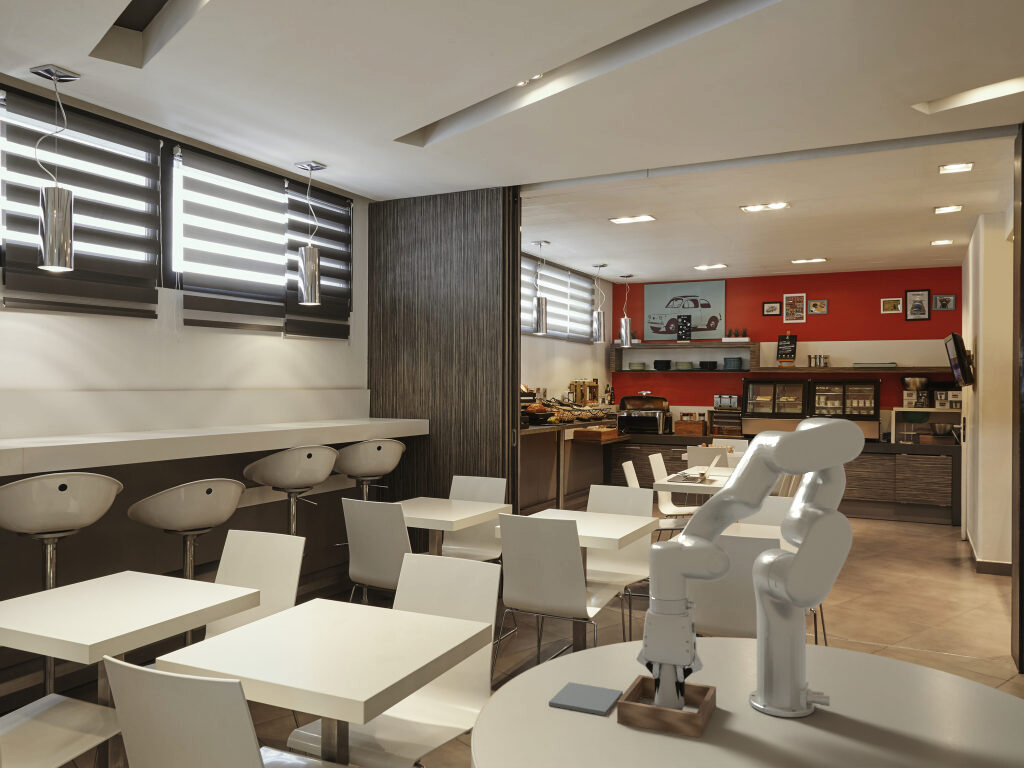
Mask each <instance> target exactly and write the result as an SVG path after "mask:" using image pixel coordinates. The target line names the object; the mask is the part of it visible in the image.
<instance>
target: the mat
mask: <svg viewBox="0 0 1024 768" xmlns="http://www.w3.org/2000/svg"><path fill="white" fill-rule="evenodd" d="M623 691H624V690H619V689H613V688H606V687H602V686H595V685H588V684H582V683H577V682H572V681H569V682H568V683H566V684H565V685H564V686H563V688H561V690H559V691H558V692H557V693H556V694H555V695H554V696H553V697H552V698H551V699H550V700H549V701H548V706H549V707H555V708H559V707H560V709H564V708H567V709H566V710H570V709H572V711H575V710H578V711H577V712H581V711H583V712H582V713H587V712H589V713H588V714H592V713H595V714H594V715H598V714H599V715H600V716H603V715H605V716H607V715H608V713H609V712H610V711H611V710H612V709H613V708H614V706H615V705H616V704H617V701H618V699H619V698H621V696H622V695H623V694H624V692H623ZM615 703H616V704H615ZM611 708H612V709H611ZM610 709H611V710H610ZM606 714H607V715H606ZM605 716H604V717H605Z"/></svg>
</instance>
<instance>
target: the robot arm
mask: <svg viewBox="0 0 1024 768" xmlns="http://www.w3.org/2000/svg"><path fill="white" fill-rule="evenodd" d="M865 441H866V439H865V434H864V432H863V430H862V428H861V426H859V425H858V424H856V423H855V422H854V421H851V420H848V419H845V418H829V417H810V418H805V419H803V420H802V421H800V423H798V424H797V426H796V428H795V430H793V431H783V430H782V431H781V430H764V431H761V432H760V433H758V434H756V435H755V436H754V438H753V439H752V440H751V441H750V443H749V444H748V446H747V447H746V449H745V450H744V452H743V454H742V455H741V457H740V459H739V460H738V462H737V464H736V466H735V467H734V469H733V470H732V472H731V474H730V475H729V476H728V478H727V480H726V481H725V483H724V485H723V486H722V487H721V488H720V489H719V491H717V492H715V493H714V494H713V496H711V497H710V498H709V499H707V501H706V502H705V503H703V505H701V506H700V507H699V508H698V509H697V510H696V511H695V512H694V513H693V514H692V516H691V517H690V519H689V520H688V522H687V523H686V525H685V527H684V529H683V530H682V531H681V534H679V536H678V539H677V540H676V541H671V540H664V541H663V540H660V541H656V542H654V543H652V544H651V545H650V546H649V549H648V552H649V553H648V554H649V555H648V558H649V560H648V563H649V564H648V566H649V568H648V569H649V571H648V573H649V575H648V576H649V583H648V584H649V608H647V610H646V613H645V619H644V625H643V635H642V636H643V637H642V648H641V650H640V652H638V655H637V657H636V661H637V662H638V663H639V664H641V665H642V666H644V667H646V670H648V671H649V672H650V674H651V675H652V676H651V677H654V678H655V693H656V690H657V694H658V690H659V686H660V679H659V672H660V665H661V663H662V664H669V665H676V667H677V679H678V681H676V682H675V685H676V692H677V697H678V701H679V690H680V695H681V696H682V697H684V695H685V682H686V681H685V680H686V679H687V678H688V677H689V676H690V675H692V674H695V673H698V672H699V671H701V670H702V669H703V668H704V664H703V662H702V661H701V658H700V656H699V654H698V646H697V645H698V644H697V643H698V642H697V634H696V626H695V625H696V624H695V619H694V615H693V612H692V611H690V610H695V609H696V606H697V605H696V604H697V603H696V601H692V600H691V599H690V597H689V580H690V581H691V580H693V581H702V582H703V581H704V582H715V581H716V582H717V581H719V580H721V579H723V578H724V577H726V576H727V575H728V573H730V570H731V567H732V566H731V565H732V561H731V557H730V554H729V553H728V552H727V550H726V549H725V548H724V547H722V546H721V545H719V544H717V543H716V542H717V540H718V539H719V537H720V536H721V535H722V534H723V533H724V531H726V530H727V528H729V527H730V526H732V525H733V524H735V523H736V522H739V521H741V520H744V519H746V518H749V517H751V516H754V515H756V514H758V512H760V511H761V510H762V508H763V506H764V505H765V503H766V502H767V500H768V498H769V496H770V495H771V493H772V492H773V491H774V488H775V487H776V486H777V483H778V482H779V481H780V479H781V477H782V475H786V476H800V475H802V477H801V480H800V482H799V485H798V487H797V489H796V492H795V493H794V495H793V498H792V499H791V501H790V503H789V505H788V507H787V509H786V511H785V514H784V516H783V518H782V520H781V523H780V535H781V537H782V538H783V539H784V541H785V542H786V543H788V544H789V545H790V546H792V547H795V548H798V550H797V551H796V553H795V552H792V551H789V550H786V549H782V548H770V549H769V548H768V549H767V550H764V551H763V552H761V553H760V554H758V556H757V557H756V558H755V560H754V563H753V565H752V571H751V573H752V574H751V575H752V584H753V590H754V596H755V605H756V690H753V691H752V692H750V693H749V694H748V703H749V705H750V706H751V707H753V708H754V709H755V710H757V711H760V712H762V713H764V714H768V715H771V716H775V717H781V718H802V717H805V716H809V715H811V714H812V713H813V712H814V711H815V704H816V705H820V706H825V707H831V703H830V702H831V696H830V695H827V694H826V695H825V693H824V691H815V690H812V688H809V682H808V681H807V667H806V666H807V647H806V645H807V619H806V612H805V610H808V609H809V610H810V609H814V608H816V607H818V606H820V605H821V604H822V603H824V601H825V600H826V599H827V597H828V596H829V595H830V592H831V591H832V589H833V587H834V584H835V583H836V581H837V578H838V577H839V574H840V572H841V570H842V568H843V566H844V564H845V563H846V560H847V558H848V555H849V553H850V551H851V548H852V545H853V537H854V533H853V527H852V525H851V522H850V520H849V519H848V518H847V516H845V514H843V513H842V512H840V511H838V507H839V506H840V504H841V501H842V499H843V496H844V493H845V489H846V484H847V478H846V471H845V467H844V464H846V463H849V462H852V461H853V460H855V459H856V458H857V457H859V455H860V454H861V453H862V451H863V449H864V446H865Z"/></svg>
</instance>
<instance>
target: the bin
mask: <svg viewBox="0 0 1024 768" xmlns="http://www.w3.org/2000/svg"><path fill="white" fill-rule="evenodd" d="M644 696H647V697H646V698H650V697H652V699H655V696H656V693H655V678H654V677H653V676H651V675H650V676H649V675H642V674H638V676H637V677H636V678H635V679H634V680H633V682H632V683H631V684H630V685H629V686H628V688H627V689H626V690H625V691H624V692H623V695H622V696H621V697H620V699H619V700H618V701H617V702H616V706H617V707H616V710H617V711H616V713H617V715H616V717H617V718H616V720H617V723H618V724H623V725H628V724H629V726H634V725H635V727H639V726H641V727H640V728H645V727H646V729H650V728H651V730H656V731H660V732H661V731H662V732H666V733H667V732H668V733H672V734H678V735H679V734H680V735H684V736H688V737H693V738H694V737H695V738H701V739H702V737H703V735H704V733H705V730H706V728H707V726H708V724H709V722H710V721H711V718H712V716H713V714H714V711H715V710H716V708H717V686H713V685H707V684H700V683H696V682H694V683H693V682H690V681H688V682H687V681H685V695H684V697H683V698H684V704H686V703H687V705H692V706H699V708H698V709H697V712H694V711H686V710H676V709H670V708H664V707H658V706H656V705H650V704H644V703H639V702H640V700H641V699H642V698H641V697H644ZM640 698H641V699H640ZM638 701H639V702H638Z"/></svg>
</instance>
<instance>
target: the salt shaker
mask: <svg viewBox="0 0 1024 768" xmlns="http://www.w3.org/2000/svg"><path fill="white" fill-rule="evenodd" d="M659 679H660V686H659V690H658V694H657V690H656V696H655V698H654V706H658V707H664V708H670V709H676V710H682V711H684V710H683V709H684V707H685V703H684V698H683V697H682V696H681V695H680V690H679V701H678V697H677V692H676V685H675V682H676V681H678V679H677V667H676V665H669V664H662V663H661V665H660V672H659Z"/></svg>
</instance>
